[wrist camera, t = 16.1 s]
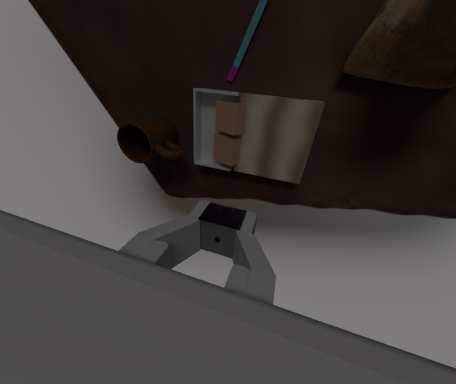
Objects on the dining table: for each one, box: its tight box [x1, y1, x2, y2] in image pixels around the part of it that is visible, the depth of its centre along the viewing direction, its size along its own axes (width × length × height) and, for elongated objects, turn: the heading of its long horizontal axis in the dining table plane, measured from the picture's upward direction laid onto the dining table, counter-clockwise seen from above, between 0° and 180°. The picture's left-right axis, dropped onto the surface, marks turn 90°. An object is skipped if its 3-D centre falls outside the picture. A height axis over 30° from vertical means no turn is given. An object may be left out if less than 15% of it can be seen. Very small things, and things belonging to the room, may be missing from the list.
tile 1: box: [215, 100, 245, 136], centre depth 33 cm, size 5×5×2 cm
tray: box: [193, 88, 242, 171], centre depth 36 cm, size 8×14×3 cm, turn 175°
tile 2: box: [213, 132, 240, 166], centre depth 36 cm, size 5×5×2 cm
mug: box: [117, 116, 184, 163], centre depth 37 cm, size 12×8×9 cm, turn 74°
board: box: [233, 93, 325, 184], centre depth 34 cm, size 13×14×2 cm
